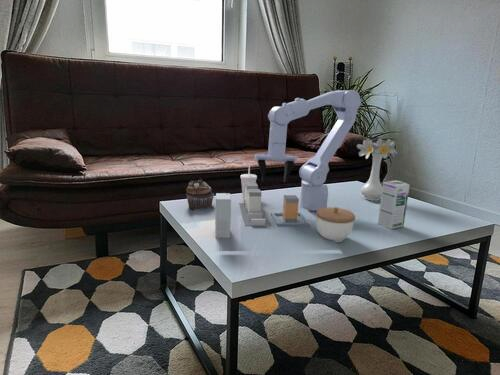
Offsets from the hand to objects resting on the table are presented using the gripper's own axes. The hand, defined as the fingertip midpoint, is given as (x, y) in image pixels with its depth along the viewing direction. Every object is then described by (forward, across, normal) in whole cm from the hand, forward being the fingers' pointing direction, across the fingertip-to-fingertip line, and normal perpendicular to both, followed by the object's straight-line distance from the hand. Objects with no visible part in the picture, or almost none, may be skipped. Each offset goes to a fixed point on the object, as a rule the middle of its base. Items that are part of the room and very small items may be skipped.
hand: (274, 181), depth 120 cm
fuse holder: (+11, -7, -6) cm, 14 cm away
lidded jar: (+10, +14, -25) cm, 30 cm away
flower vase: (+10, +44, +15) cm, 47 cm away
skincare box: (+11, -18, -23) cm, 31 cm away
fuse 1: (+10, -7, +2) cm, 12 cm away
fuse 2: (+10, -7, -6) cm, 14 cm away
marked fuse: (+10, +4, -12) cm, 16 cm away
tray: (+10, +4, -12) cm, 16 cm away
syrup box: (+10, +37, -15) cm, 41 cm away
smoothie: (+11, -7, +12) cm, 18 cm away
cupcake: (+11, -25, +3) cm, 28 cm away
